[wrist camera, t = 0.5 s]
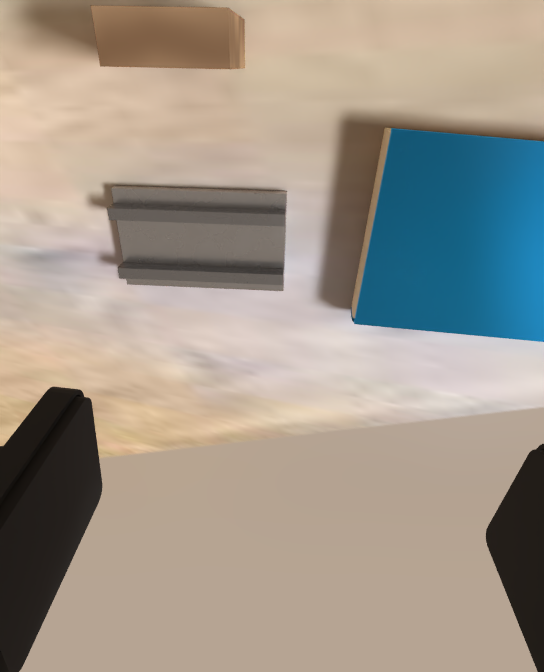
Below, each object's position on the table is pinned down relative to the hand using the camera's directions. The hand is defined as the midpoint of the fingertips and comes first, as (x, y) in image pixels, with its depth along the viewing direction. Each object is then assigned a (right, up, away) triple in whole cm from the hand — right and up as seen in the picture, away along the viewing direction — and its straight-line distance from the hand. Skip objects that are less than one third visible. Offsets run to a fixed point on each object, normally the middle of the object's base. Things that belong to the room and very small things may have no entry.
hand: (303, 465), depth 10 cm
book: (+20, +12, +30) cm, 38 cm away
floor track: (-7, +12, +31) cm, 34 cm away
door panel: (-7, +25, +23) cm, 35 cm away
